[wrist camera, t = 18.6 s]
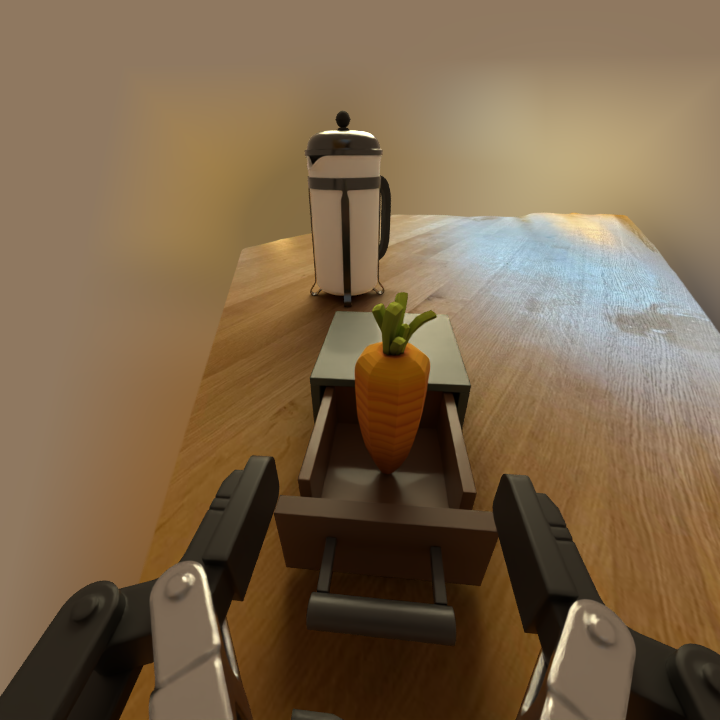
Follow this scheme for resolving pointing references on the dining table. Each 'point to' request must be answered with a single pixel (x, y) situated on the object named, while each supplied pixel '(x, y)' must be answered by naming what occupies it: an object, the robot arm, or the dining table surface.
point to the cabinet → (362, 330)
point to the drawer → (386, 521)
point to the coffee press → (347, 210)
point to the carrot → (392, 386)
